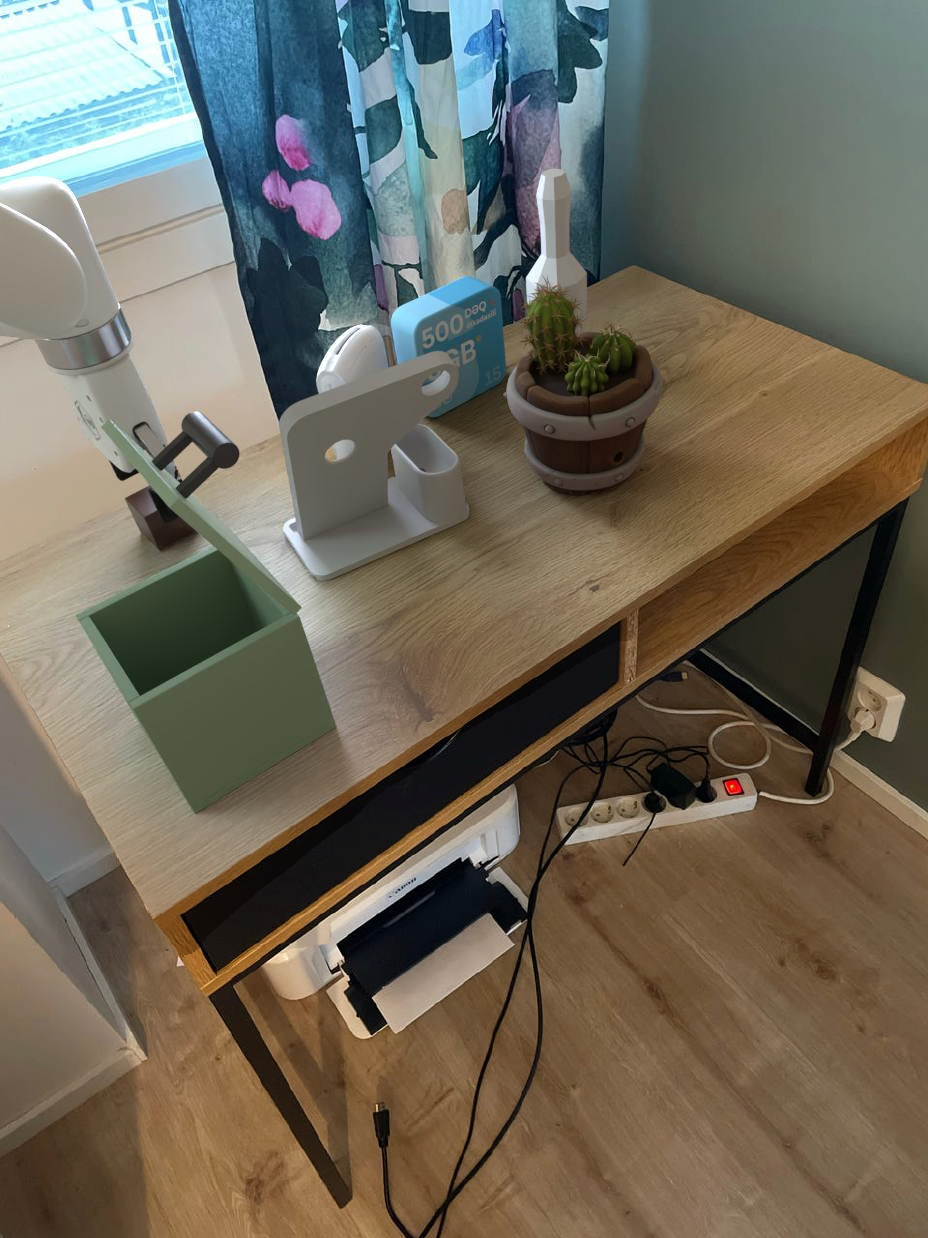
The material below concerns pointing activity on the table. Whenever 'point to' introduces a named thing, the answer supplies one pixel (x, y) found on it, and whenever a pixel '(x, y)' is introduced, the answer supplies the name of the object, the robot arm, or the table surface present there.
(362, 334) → the photo printer
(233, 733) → the box
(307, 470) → the phone holder
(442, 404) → the data package
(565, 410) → the flowerpot
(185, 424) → the green box lid
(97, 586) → the table surface
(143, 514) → the block
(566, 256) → the low poly bottle
